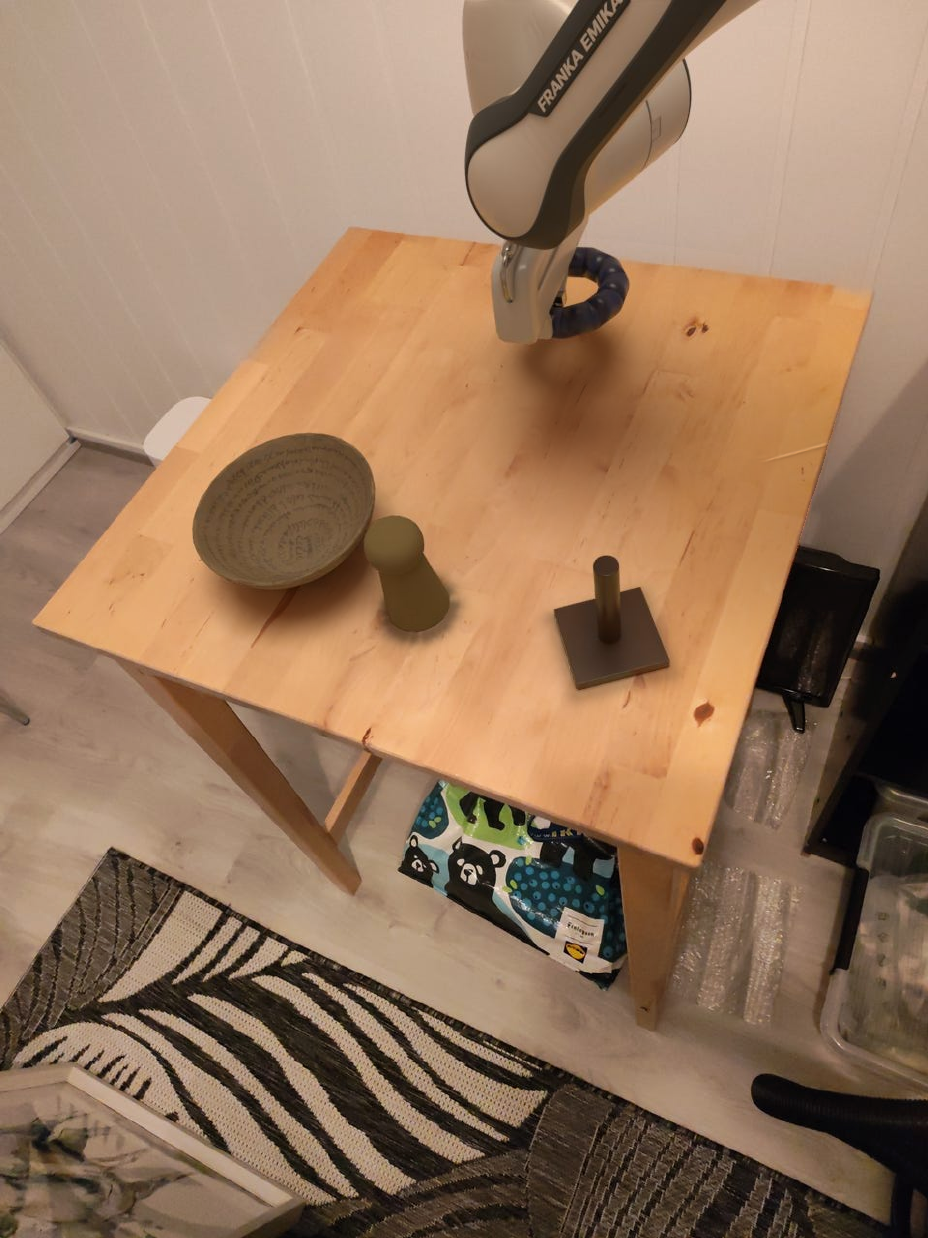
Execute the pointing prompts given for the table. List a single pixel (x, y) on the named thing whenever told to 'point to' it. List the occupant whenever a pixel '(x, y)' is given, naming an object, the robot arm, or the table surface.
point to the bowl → (285, 511)
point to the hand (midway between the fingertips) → (551, 320)
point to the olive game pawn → (405, 574)
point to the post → (610, 631)
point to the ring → (598, 305)
